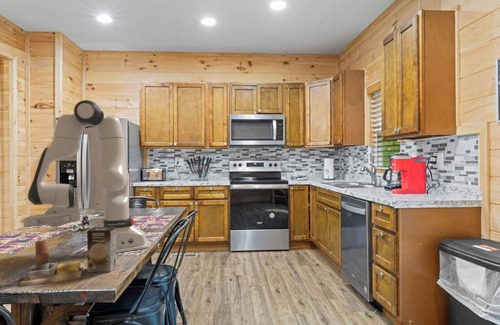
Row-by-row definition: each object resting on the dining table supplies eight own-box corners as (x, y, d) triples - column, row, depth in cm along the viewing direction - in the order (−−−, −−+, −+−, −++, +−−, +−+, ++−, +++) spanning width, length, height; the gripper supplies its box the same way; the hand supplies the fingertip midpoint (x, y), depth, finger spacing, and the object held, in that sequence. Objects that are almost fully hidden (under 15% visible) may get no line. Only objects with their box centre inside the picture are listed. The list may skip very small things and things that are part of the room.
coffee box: (86, 272, 122) (85, 230, 121) (94, 266, 128) (93, 226, 128) (111, 271, 122) (110, 230, 122) (117, 266, 128) (116, 226, 128)
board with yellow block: (84, 266, 129) (84, 257, 129) (80, 278, 116) (79, 268, 116) (31, 272, 122) (31, 263, 122) (20, 286, 109) (20, 275, 109)
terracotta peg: (50, 271, 120) (49, 239, 120) (47, 275, 116) (47, 242, 116) (37, 272, 119) (36, 240, 118) (34, 276, 115) (34, 243, 115)
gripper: (27, 212, 136) (17, 217, 123) (81, 206, 143) (77, 210, 130) (28, 226, 136) (19, 233, 123) (82, 220, 144) (78, 226, 131)
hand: (49, 221), depth 127 cm, fingers open, 8 cm apart
